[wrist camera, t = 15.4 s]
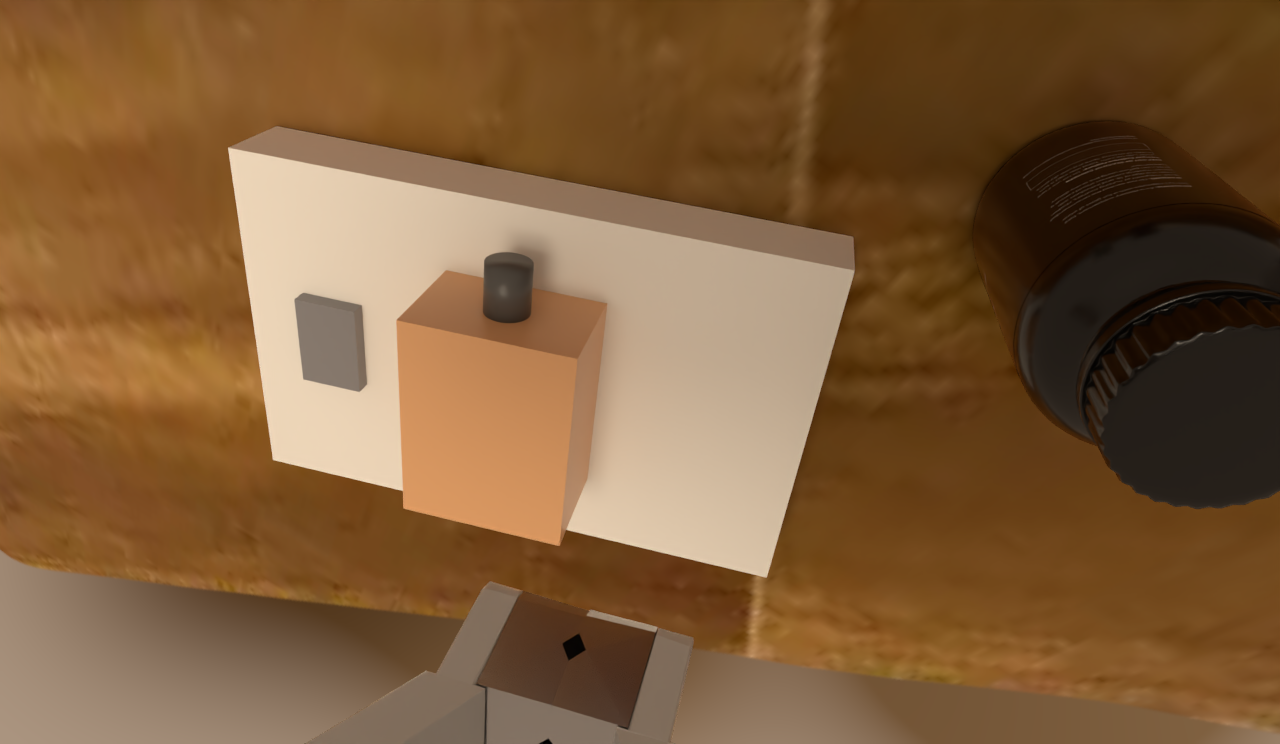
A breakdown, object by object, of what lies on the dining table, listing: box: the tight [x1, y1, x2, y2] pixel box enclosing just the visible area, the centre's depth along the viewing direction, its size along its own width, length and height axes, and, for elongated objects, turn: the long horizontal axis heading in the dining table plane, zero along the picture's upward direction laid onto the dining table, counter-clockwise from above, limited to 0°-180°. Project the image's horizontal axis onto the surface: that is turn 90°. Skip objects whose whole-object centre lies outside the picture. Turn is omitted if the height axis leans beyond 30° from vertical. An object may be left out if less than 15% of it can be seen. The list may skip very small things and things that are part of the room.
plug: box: [396, 252, 607, 546], centre depth 30 cm, size 6×10×6 cm, turn 173°
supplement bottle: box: [973, 121, 1280, 509], centre depth 22 cm, size 7×7×12 cm
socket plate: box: [228, 126, 855, 578], centre depth 33 cm, size 22×14×4 cm, turn 83°
